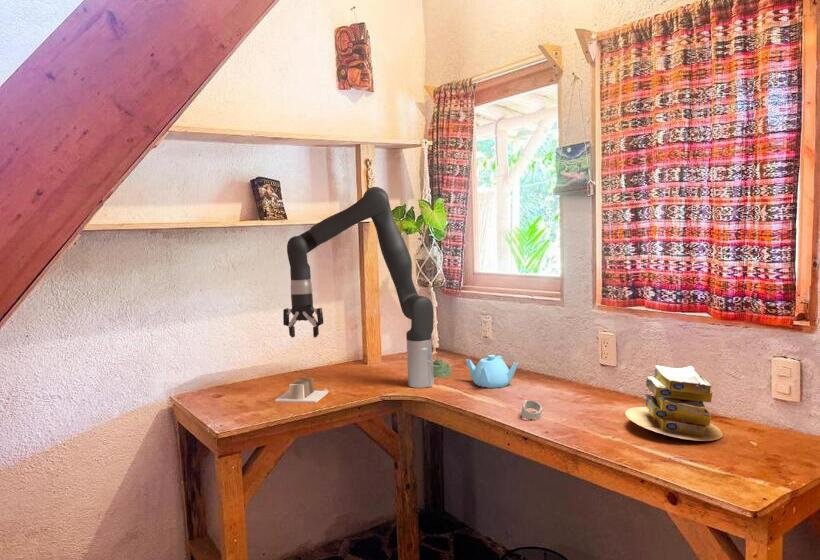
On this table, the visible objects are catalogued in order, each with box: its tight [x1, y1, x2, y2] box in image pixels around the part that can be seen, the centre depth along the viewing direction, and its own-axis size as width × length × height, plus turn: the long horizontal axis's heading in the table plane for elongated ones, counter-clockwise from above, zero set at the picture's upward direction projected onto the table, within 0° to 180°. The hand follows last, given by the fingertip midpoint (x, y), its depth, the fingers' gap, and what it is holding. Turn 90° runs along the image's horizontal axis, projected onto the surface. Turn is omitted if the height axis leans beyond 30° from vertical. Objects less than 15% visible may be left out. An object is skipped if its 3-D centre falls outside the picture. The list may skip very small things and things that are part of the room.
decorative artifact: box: [433, 357, 452, 378], centre depth 243 cm, size 10×7×10 cm
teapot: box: [465, 354, 519, 389], centre depth 225 cm, size 15×15×11 cm
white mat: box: [274, 390, 329, 404], centre depth 217 cm, size 15×13×1 cm
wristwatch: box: [520, 399, 543, 420], centre depth 187 cm, size 9×6×5 cm
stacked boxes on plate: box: [625, 364, 724, 442], centre depth 170 cm, size 25×25×17 cm
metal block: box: [288, 377, 315, 399], centre depth 217 cm, size 5×5×10 cm
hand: (304, 337), depth 220 cm, fingers open, 8 cm apart
